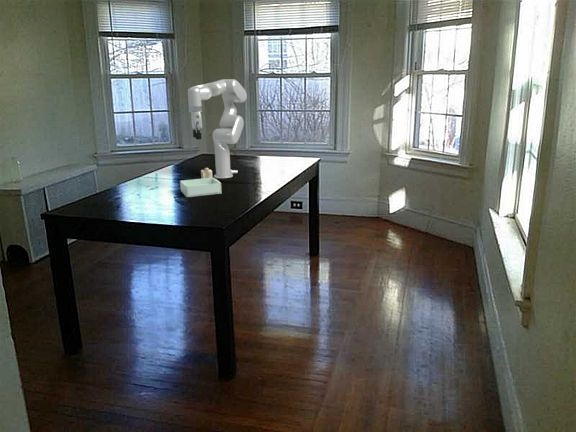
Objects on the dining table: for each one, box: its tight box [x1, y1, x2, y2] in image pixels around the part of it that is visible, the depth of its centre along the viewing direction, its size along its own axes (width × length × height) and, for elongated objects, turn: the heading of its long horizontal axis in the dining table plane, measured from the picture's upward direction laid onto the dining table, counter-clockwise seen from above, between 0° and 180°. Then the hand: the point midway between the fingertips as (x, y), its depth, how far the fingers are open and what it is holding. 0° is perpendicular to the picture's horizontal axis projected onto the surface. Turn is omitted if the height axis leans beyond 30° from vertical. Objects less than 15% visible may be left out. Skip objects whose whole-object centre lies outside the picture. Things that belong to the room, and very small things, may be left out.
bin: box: [179, 177, 223, 198], centre depth 299 cm, size 20×18×6 cm
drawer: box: [200, 167, 213, 179], centre depth 317 cm, size 6×6×8 cm
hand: (197, 138), depth 312 cm, fingers open, 9 cm apart
